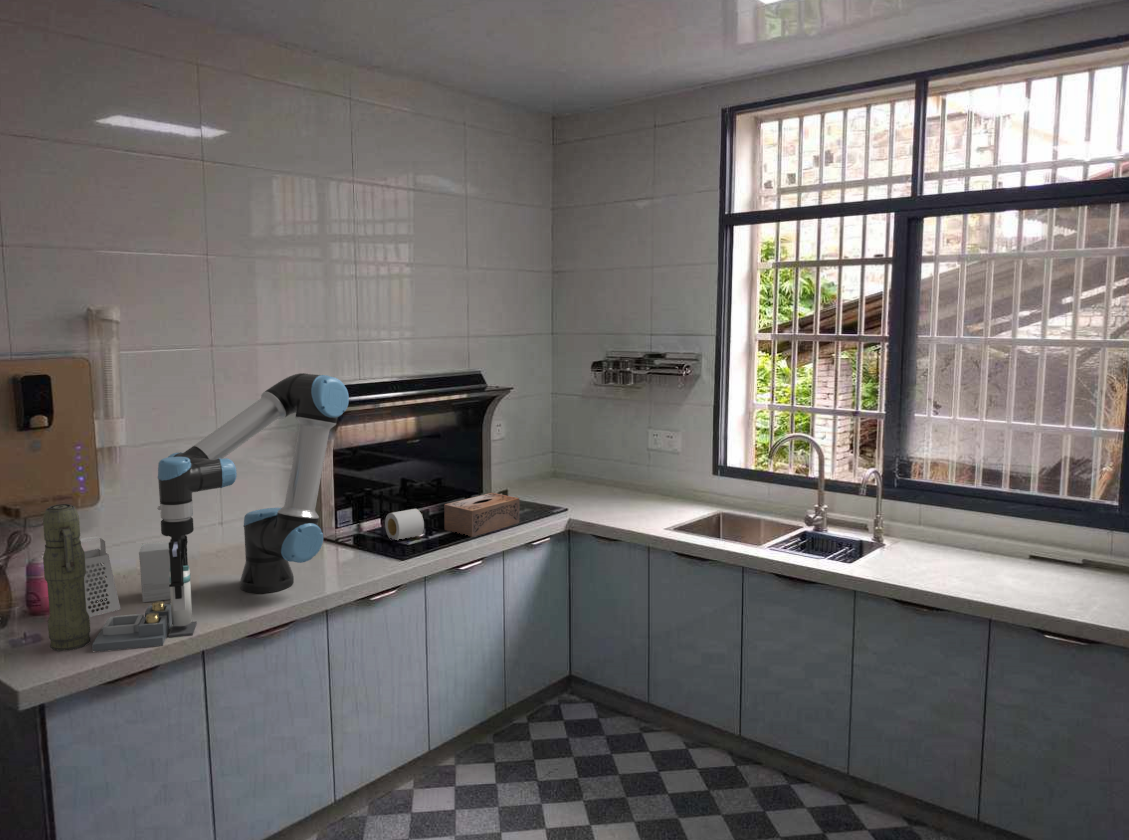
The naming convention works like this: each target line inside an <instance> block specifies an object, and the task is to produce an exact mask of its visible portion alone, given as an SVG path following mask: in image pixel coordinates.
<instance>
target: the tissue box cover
mask: <svg viewBox="0 0 1129 840" xmlns="http://www.w3.org/2000/svg"><path fill="white" fill-rule="evenodd" d="M443 512H444V531H448V532H451V531H452V533H455V532H457V533H456V534H459V533H460V534H459V535H463V534H465V535H464V536H466V535H468V536H467V537H470V538H473V537H474V538H475V537H477V536H480V535H483V534H487V533H490V532H493V531H496V530H500V529H504V528H507V527H510V526H514V525H517V524H520V498H519V497H515V496H511V495H505V494H500V493H495V492H488V493H486V494H481V495H477V496H474V497H473V496H472V497H469V498H464V499H461V500H457V501H452V502H450V503H449V502H448V503H445V504H444V511H443Z"/></svg>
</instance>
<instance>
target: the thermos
mask: <svg viewBox="0 0 1129 840" xmlns="http://www.w3.org/2000/svg"><path fill="white" fill-rule="evenodd" d="M42 523H43V524H42V526H43V538H44V541H45V544H44V553H43V557H42V562H43V563H42V564H43V574H44V580H45V582H46V584H47V585H46V586H47V596H48V597H47V598H48V608H49V617H48V620H47V629H48V631H47V632H48V639H49V640H50V642H49V643H50V649H51V650H52V651H57V652H67V651H68V652H69V651H72V650H73V649H74V650H77V648H78V649H80V647H81V648H83V647H86V646H87V645H89V644H90V643H91V636H90V635H91V623H90V622H91V621H90V619H91V617H89V615H88V613H87V611H86V598H85V584H84V576H85V574H86V568H85V554H84V552H85V550H84V547H83V546H82V542H81V541H80V539H81V538H80V537H81V529H80V527H81V526H80V515H79V513H78V511H77V509H76V506H74V505H72V504H67V503H61V504H54V505H50V506H49V507H46V509H45V511H44V514H43V518H42ZM85 645H86V646H85Z"/></svg>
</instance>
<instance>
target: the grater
mask: <svg viewBox="0 0 1129 840" xmlns="http://www.w3.org/2000/svg"><path fill="white" fill-rule="evenodd" d="M97 540H99V542H100V549H99V548H96V549H91V550H86V551H85V550H84V554H85V568H86V574H85V576H84V584H85V598H86V611H87V613H88V615H89V618H93V617H96V616H95V615H97V616H99V615H98V614H100V615H103V614H102V613H104V614H108V613H112V612H116V611H119V610H118V609H120V610H121V605H120V600H119V596H118V591H117V587H116V582H115V578H114V574H113V568H112V563H111V560H110V555H109V554H108V553H107V550H106V541H105V540H104V539H102V537H99V536H97V535H94V536H89V537H82V538H80V541H81V543H85V542H90V541H97ZM105 599H106V600H105ZM101 600H103V601H101ZM97 601H98V602H97ZM108 601H109V602H108ZM95 602H96V603H95ZM90 603H92V604H90ZM103 603H105V604H104V605H103ZM99 604H100V606H99ZM94 605H95V607H93V606H94ZM89 607H91V608H89ZM106 607H107V608H106ZM101 608H103V609H101ZM97 609H98V611H97ZM93 610H94V612H93ZM115 610H116V611H115ZM111 611H112V612H111ZM107 612H108V613H107ZM92 616H93V617H92Z"/></svg>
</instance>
